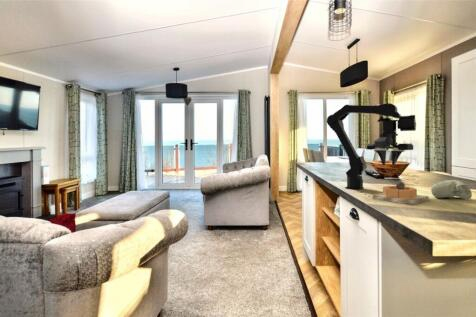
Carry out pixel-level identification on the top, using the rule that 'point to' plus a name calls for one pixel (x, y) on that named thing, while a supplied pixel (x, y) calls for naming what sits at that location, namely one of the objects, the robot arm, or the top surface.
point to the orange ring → (399, 192)
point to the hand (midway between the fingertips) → (388, 165)
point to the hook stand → (401, 200)
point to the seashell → (451, 189)
